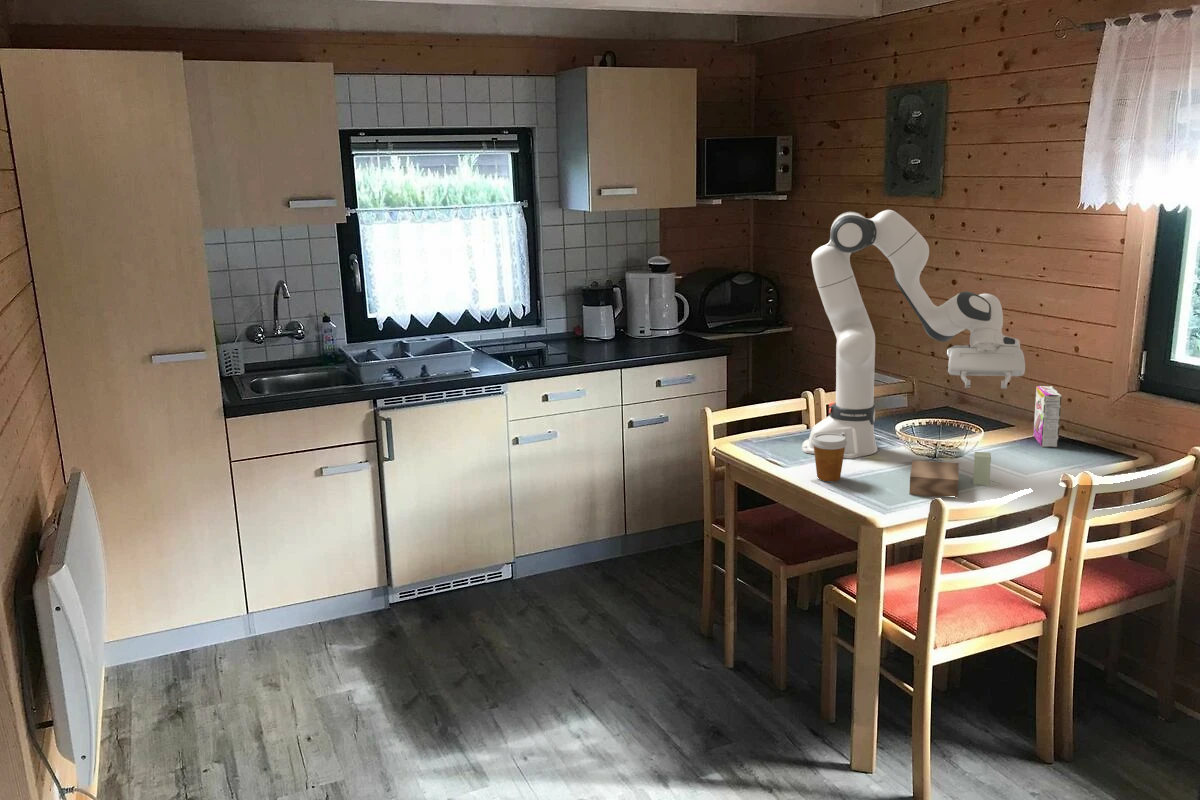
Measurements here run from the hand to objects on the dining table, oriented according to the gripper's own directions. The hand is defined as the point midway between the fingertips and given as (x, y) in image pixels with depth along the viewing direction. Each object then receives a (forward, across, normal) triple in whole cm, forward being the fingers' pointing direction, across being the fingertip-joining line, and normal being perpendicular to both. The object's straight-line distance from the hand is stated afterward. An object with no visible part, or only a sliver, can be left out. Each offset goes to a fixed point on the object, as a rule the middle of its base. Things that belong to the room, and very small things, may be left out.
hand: (985, 387), depth 265 cm
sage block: (+26, -1, +7) cm, 27 cm away
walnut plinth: (+31, -13, +2) cm, 33 cm away
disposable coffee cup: (+30, -41, +3) cm, 50 cm away
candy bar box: (-3, +18, +37) cm, 42 cm away
